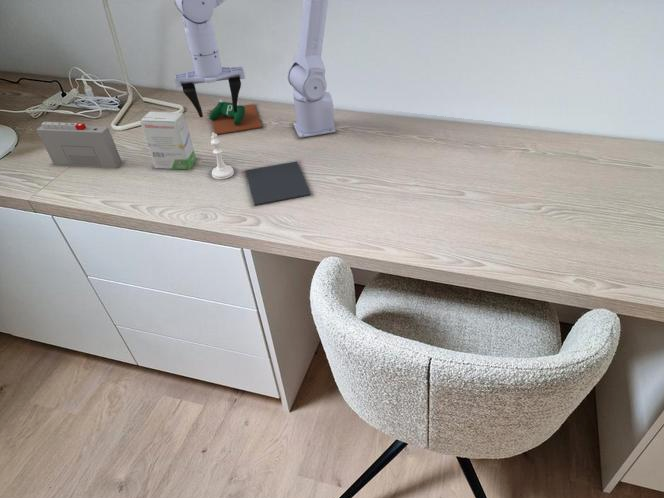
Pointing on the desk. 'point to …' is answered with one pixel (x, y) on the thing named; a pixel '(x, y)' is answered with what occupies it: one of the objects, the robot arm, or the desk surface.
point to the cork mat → (247, 123)
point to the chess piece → (220, 161)
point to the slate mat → (276, 183)
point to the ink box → (168, 140)
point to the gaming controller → (228, 111)
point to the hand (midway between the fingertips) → (218, 113)
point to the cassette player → (79, 145)
